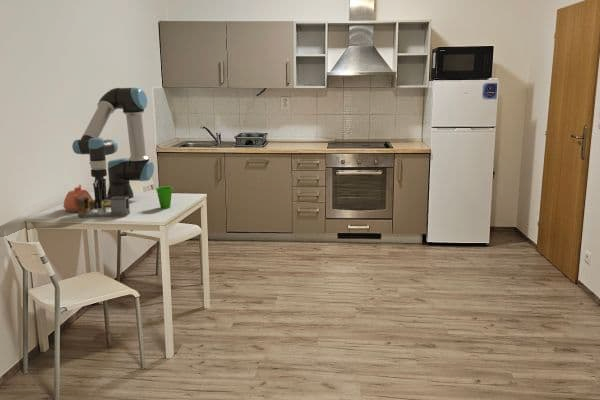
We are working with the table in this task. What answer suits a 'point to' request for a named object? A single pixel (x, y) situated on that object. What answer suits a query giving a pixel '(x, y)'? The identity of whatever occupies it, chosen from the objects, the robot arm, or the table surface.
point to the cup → (164, 196)
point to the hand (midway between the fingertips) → (102, 213)
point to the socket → (83, 205)
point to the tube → (105, 204)
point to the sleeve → (120, 205)
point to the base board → (102, 215)
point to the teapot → (74, 199)
